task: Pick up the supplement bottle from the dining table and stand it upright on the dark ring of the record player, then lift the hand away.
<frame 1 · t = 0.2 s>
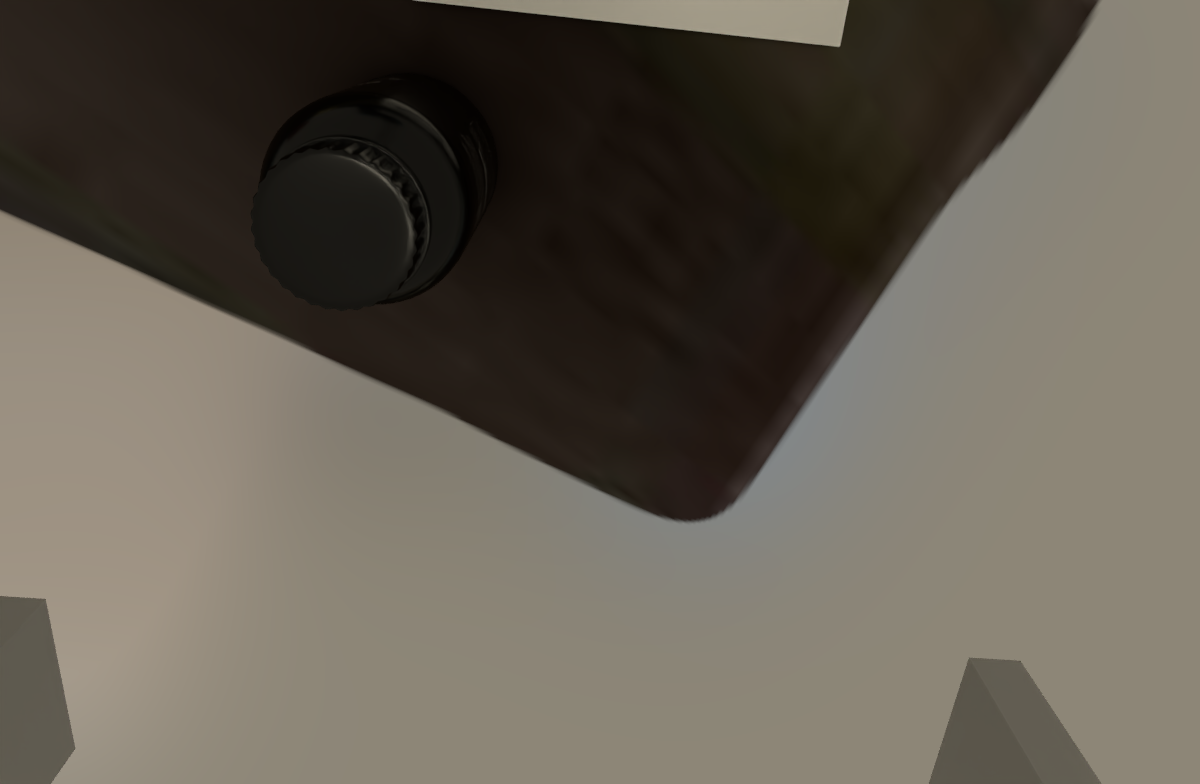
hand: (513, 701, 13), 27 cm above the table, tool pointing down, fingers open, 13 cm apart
supplement bottle: (415, 160, 36), on the table
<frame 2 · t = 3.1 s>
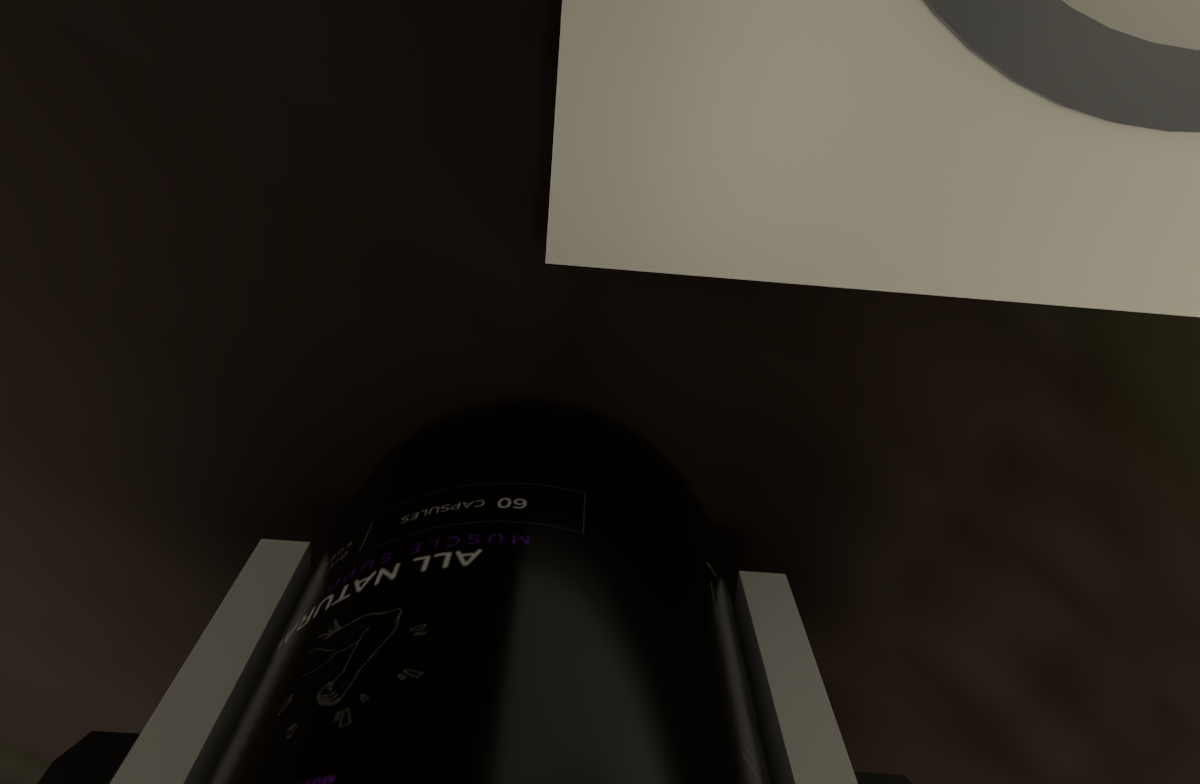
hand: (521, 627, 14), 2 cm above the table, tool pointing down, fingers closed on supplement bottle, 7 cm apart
supplement bottle: (527, 565, 16), on the table, touching gripper
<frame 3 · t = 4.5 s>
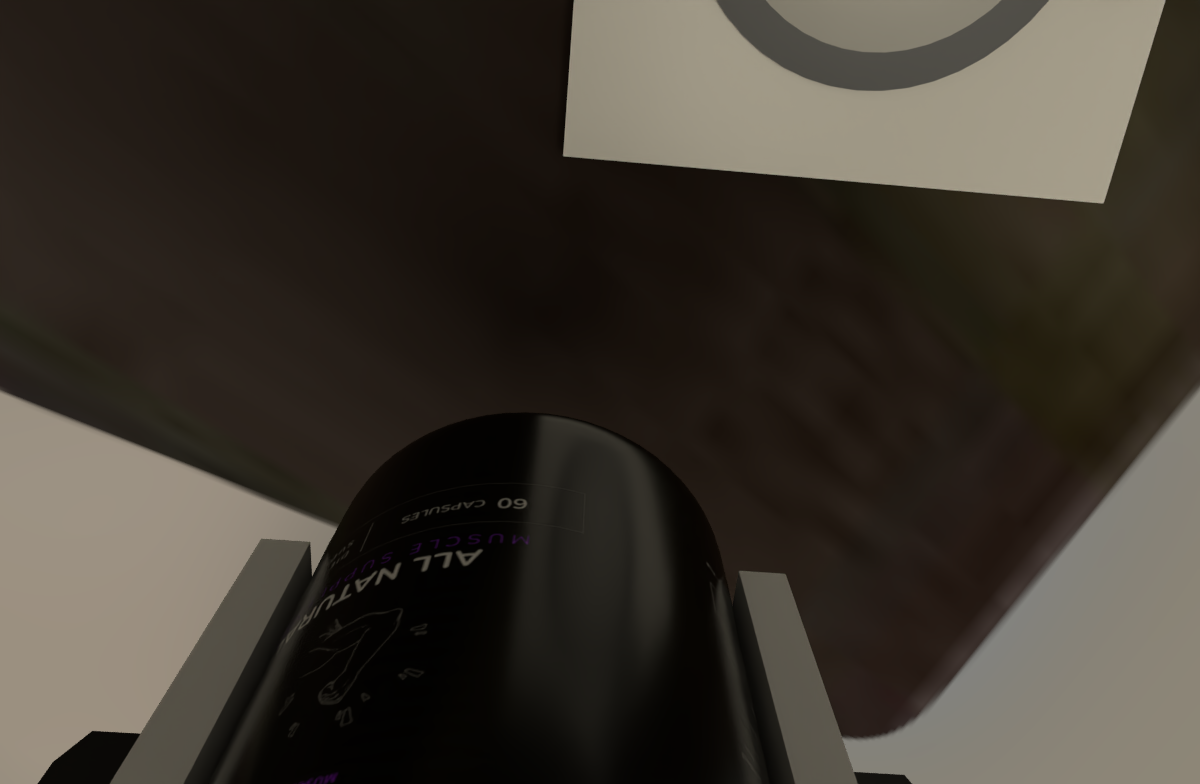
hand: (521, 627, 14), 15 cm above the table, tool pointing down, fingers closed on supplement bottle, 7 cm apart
supplement bottle: (528, 565, 16), point 14 cm above the table, touching gripper
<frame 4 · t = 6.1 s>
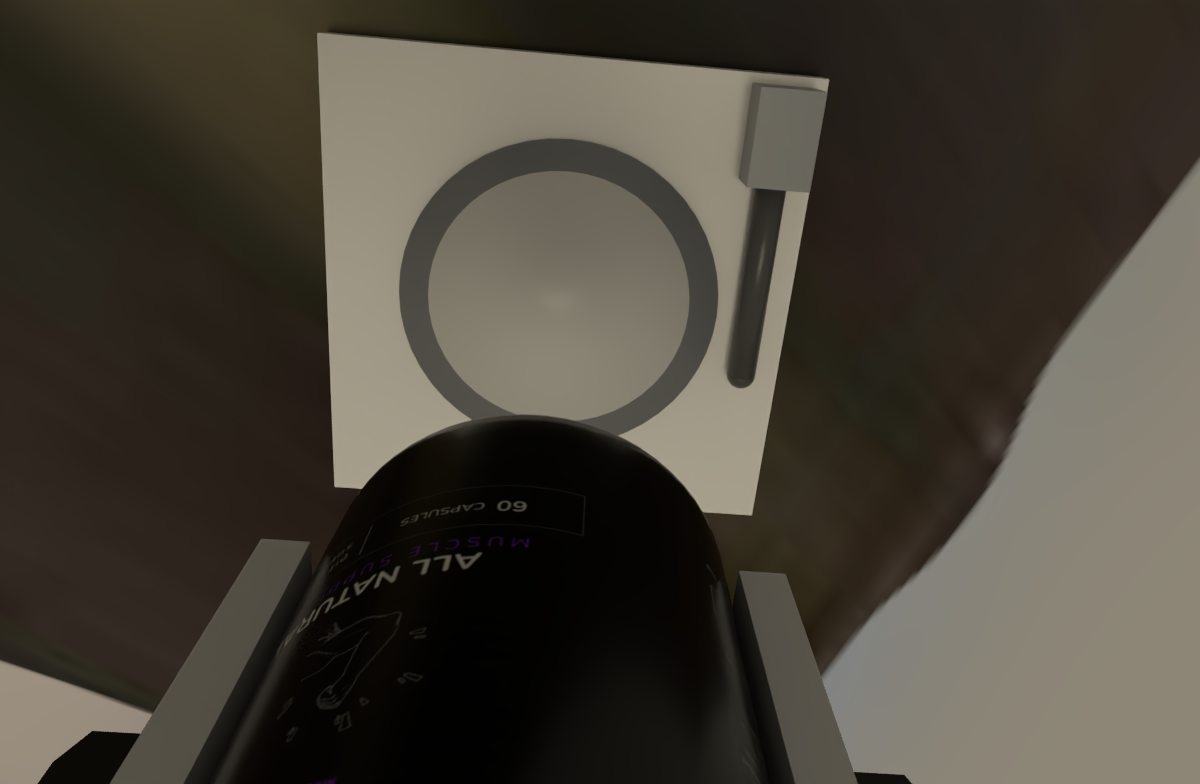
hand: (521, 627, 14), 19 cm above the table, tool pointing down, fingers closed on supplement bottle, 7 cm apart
record player: (560, 291, 32), on the table
supplement bottle: (527, 567, 16), point 17 cm above the table, touching gripper
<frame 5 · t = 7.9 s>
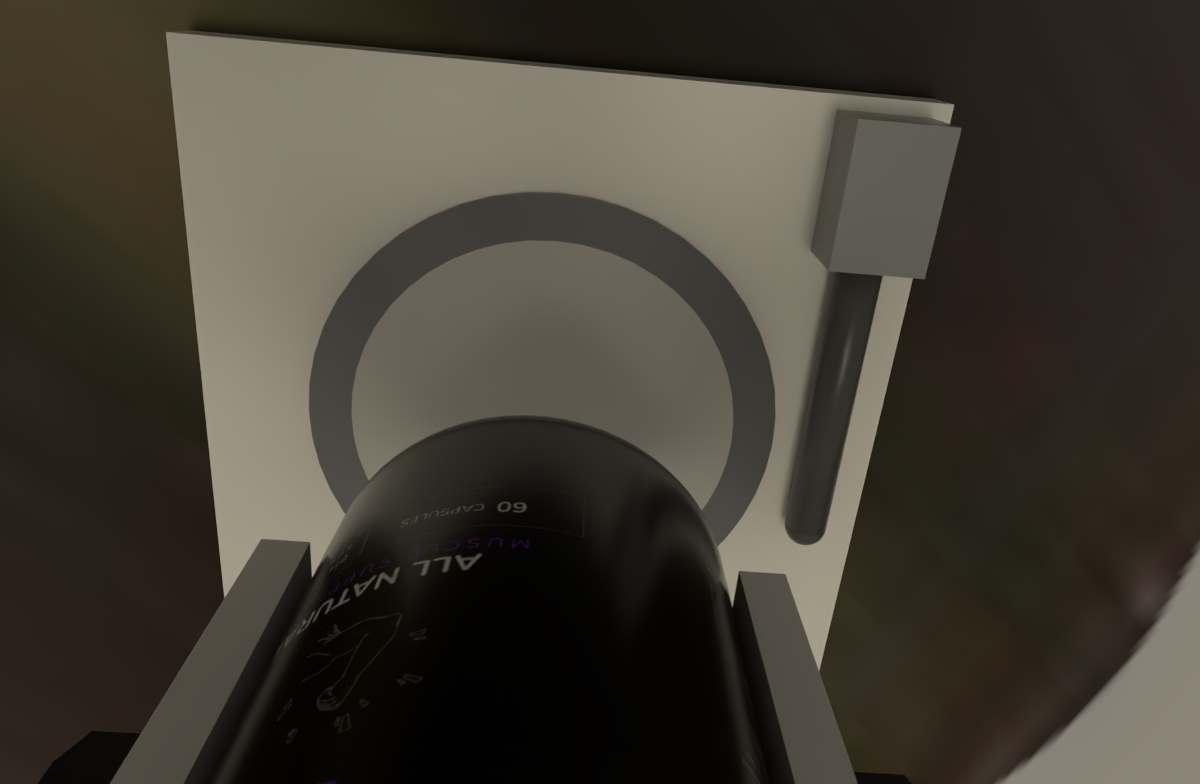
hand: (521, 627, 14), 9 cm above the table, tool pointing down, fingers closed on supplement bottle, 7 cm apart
record player: (546, 402, 22), on the table
supplement bottle: (527, 568, 16), point 7 cm above the table, touching gripper
when the fingers open (4 cm above the table, at t = 9.6 s): supplement bottle drops 1 cm, resting on record player.
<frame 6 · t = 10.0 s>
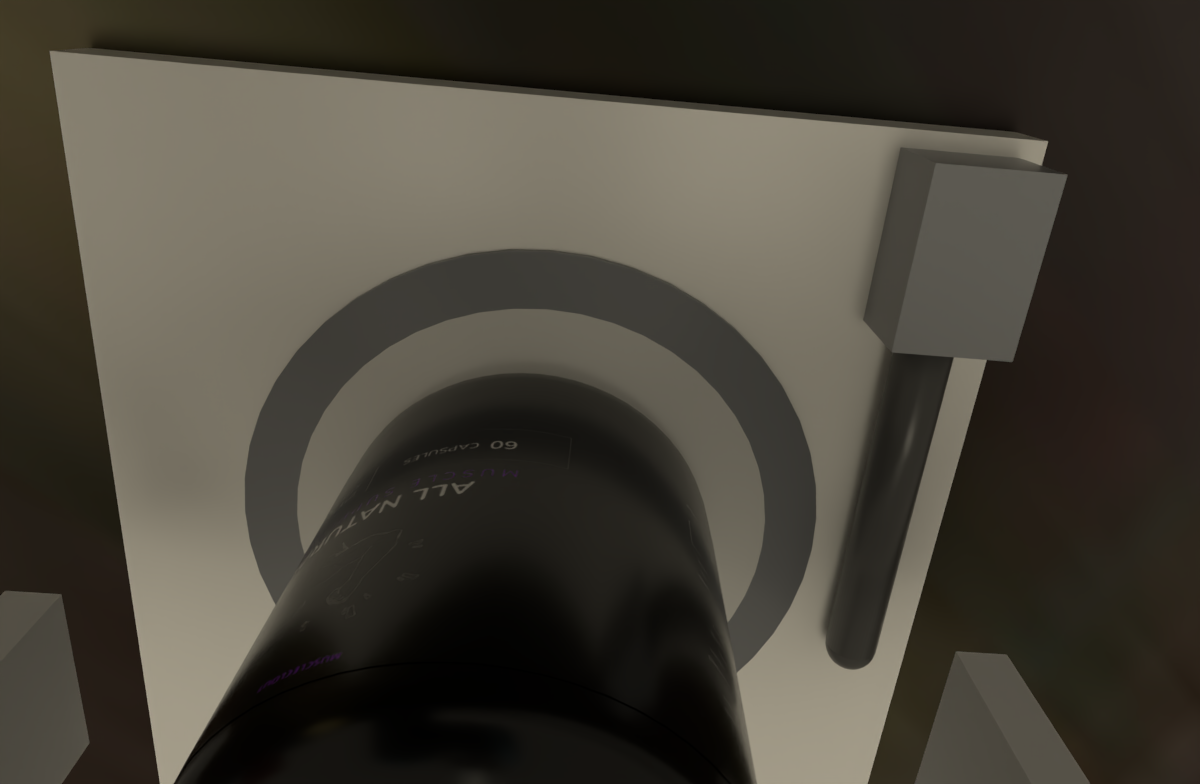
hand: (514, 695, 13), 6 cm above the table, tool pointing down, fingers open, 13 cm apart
record player: (536, 493, 18), on the table
supplement bottle: (526, 521, 17), point 1 cm above the table, touching record player
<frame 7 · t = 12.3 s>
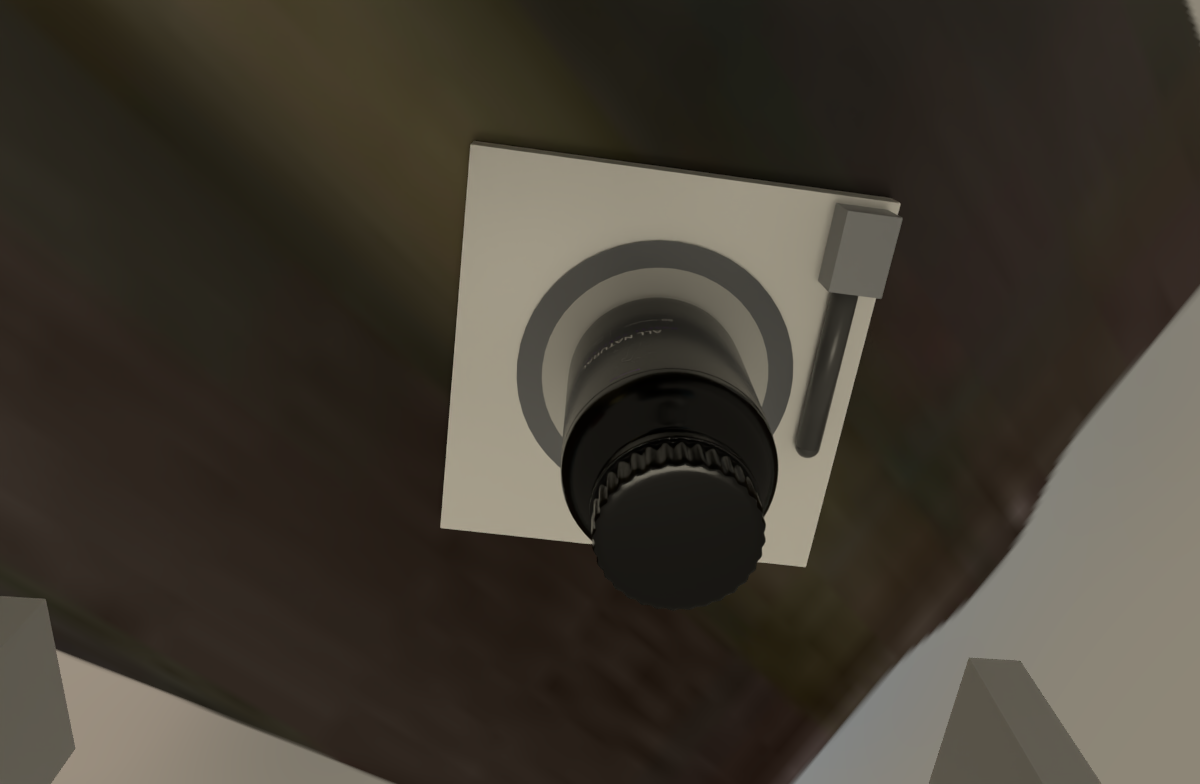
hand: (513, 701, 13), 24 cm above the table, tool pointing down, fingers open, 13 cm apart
record player: (652, 366, 36), on the table
supplement bottle: (652, 374, 35), point 1 cm above the table, touching record player
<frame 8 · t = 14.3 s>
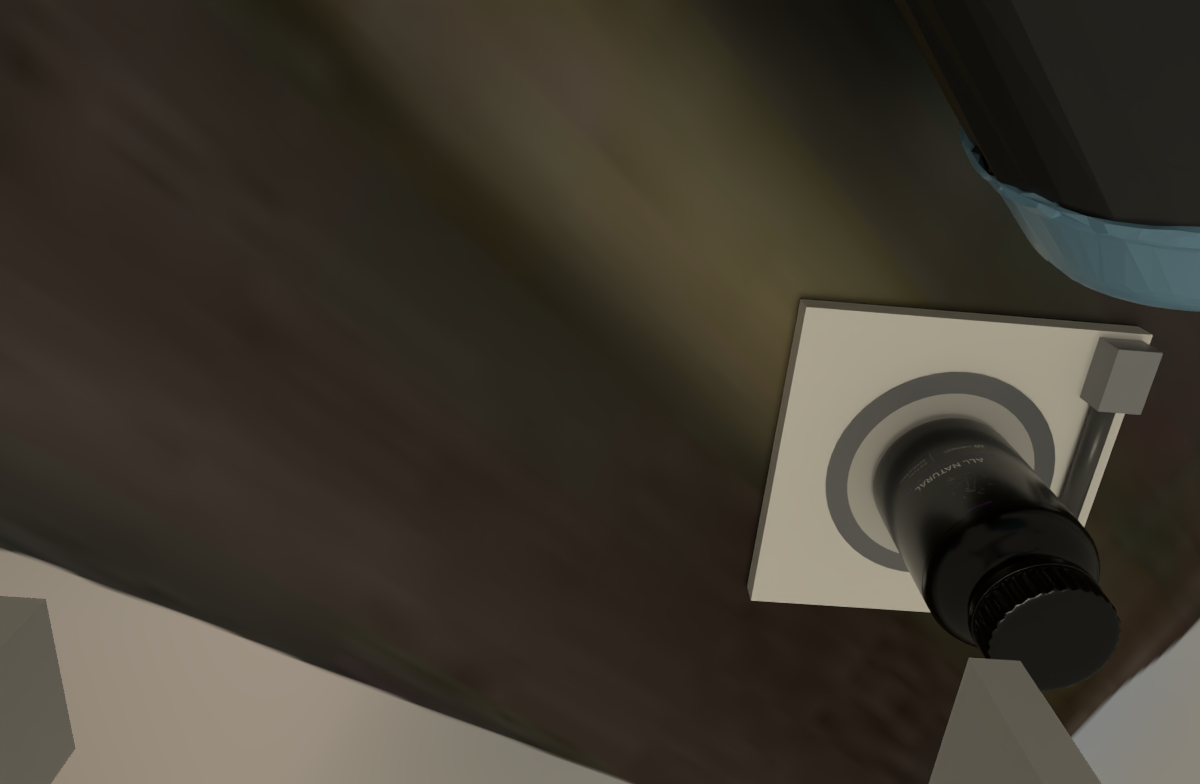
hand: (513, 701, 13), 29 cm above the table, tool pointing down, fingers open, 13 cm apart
record player: (929, 464, 44), on the table
supplement bottle: (937, 474, 43), point 1 cm above the table, touching record player
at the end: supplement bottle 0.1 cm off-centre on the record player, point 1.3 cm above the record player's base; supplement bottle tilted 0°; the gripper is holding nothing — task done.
